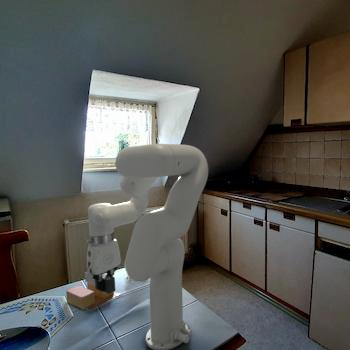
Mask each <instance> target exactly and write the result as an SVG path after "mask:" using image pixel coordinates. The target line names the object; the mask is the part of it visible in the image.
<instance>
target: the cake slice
mask: <svg viewBox="0 0 350 350" xmlns="http://www.w3.org/2000/svg"><path fill="white" fill-rule="evenodd" d="M65 295H66V303H68V304H70V305H72V306H75V307H76V308H78V309H80V310H84V309H87V308H86V307H88V306H90V305H92V304H94V303H95V299H94V291H91V290H89V289H88V288H86V287H84V286H81V285H76V286H73V287H71V288H69V289H66V291H65Z"/></svg>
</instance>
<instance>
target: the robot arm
mask: <svg viewBox="0 0 350 350" xmlns="http://www.w3.org/2000/svg"><path fill="white" fill-rule="evenodd" d="M114 166H115V169H116V172H117V173H118V174H119V175H121V176H122V179H121V180H120V189H121V190H122V192H123V193H124V194H125V195H126V196H128V197H130V199H129V201H127V202H121V203H115V204H111V203H108V202H99V203H94V204H91V205H89V206H88V208H87V215H88V216H87V217H88V219H87V220H88V232H89V236H88V238H87V239H86V240H85V242H86V244H88V246H87V250H86V276H85V275H84V278H85V277H86V278H89V279H95V280H96V283H97V289H98V290H99V291H102V292H103V291H104V290H105V287H104V280H102V273H103V274H104V273H105V272H106V275H109V276H112V277H114V275H115V273H116V271H117V270H118V268H119V267H120V266H121V265H122V262H121V261H122V259H121V252H120V247H119V242H118V240H117V239H116V238H115V229H114V228H118V227H121V226H124V225H128V224H132V223H134V222H135V225H134V227H133V230H132V234H131V236H130V240H129V244H128V248H127V251H126V254H125V260H124V269H125V268H126V270H125V272H126V275H127V274H128V276H129V277H130V278H131V279H132V280H134V281H133V282H145V281H147V280H149V317H150V328H149V329H148V330H147V332H146V335H145V343H146V344H145V345H146V346H147V347H149V348H150V349H152V350H172V349H174V348H176V347H179V346H180V345H181V344H182V343H185V344H188V343H189V341H190V338H191V335H192V333H193V331H192V330H191V329H189V326H188V325H187V324H186V321H185V320H184V311H183V310H184V308H183V306H184V305H183V266H184V261H185V254H186V253H185V252H186V249H185V245H184V241H183V240H182V239H181V238H182V237H184V236H185V235H186V234H187V233H188V231H189V229H190V226H191V224H192V222H193V218H194V216H195V212H196V210H197V207H198V203H199V201H200V198H201V196H202V193H203V191H204V189H205V186H206V184H207V181H208V178H209V164H208V161H207V157H206V156H205V154H204V153H203V151H201V150H200V148H197V147H196V146H193V145H189V144H177V143H175V144H174V143H149V144H142V145H141V144H140V145H133V146H132V145H131V146H126V147H124V148H122V149H121V150H120V151H119V152H118V153H117V155H116V157H115V161H114ZM172 176H173V177H174V176H179V177H178V179H177V180H176V181H175V182H174V184H173V185H172V187H170V190H169V192H168V195H167V199H166V201H165V204H164V205H163V206H162V207H161V208H159V209H155V210H151V211H148V212H146V210H147V208H148V206H149V194H148V192H149V191H150V189H151V188H152V186H154V184H155V182H156V181H157V180H158V178H162V177H163V178H164V177H172ZM145 212H146V213H145Z"/></svg>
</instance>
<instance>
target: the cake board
mask: <svg viewBox="0 0 350 350" xmlns="http://www.w3.org/2000/svg"><path fill="white" fill-rule="evenodd" d="M120 295H121V293H120V292H117V291H114V293H113V294H111V295H110V296H108V297H106V298H104V299H103V298H100V297H98V296H95V295H94V299H95V303H94V304H92V305H90V306H88V307H86V308H85V309H87V310H88V311H92V310H94V309H96V308H98V307H100V306H102V305H103V304H105V303H107V302H109V301H111V300H113V299H115V298H117V297H119V296H120Z"/></svg>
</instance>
